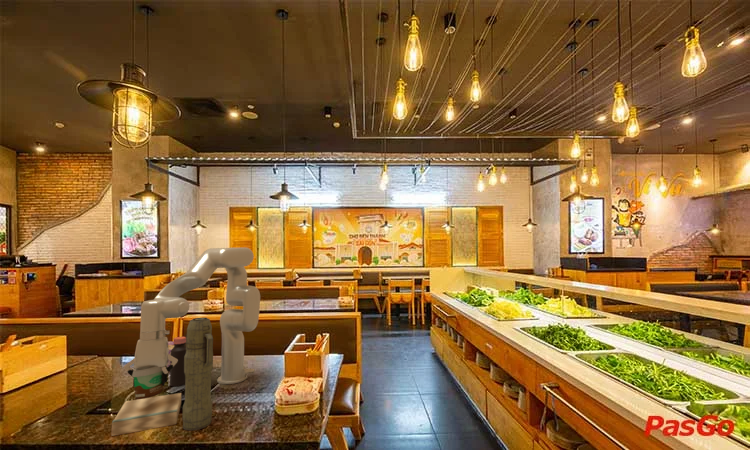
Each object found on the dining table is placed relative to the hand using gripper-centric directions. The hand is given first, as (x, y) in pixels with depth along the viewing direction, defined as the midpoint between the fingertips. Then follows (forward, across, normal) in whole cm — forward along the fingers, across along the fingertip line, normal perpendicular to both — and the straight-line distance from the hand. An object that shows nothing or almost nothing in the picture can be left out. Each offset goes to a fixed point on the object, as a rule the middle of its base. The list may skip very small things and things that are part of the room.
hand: (150, 386), depth 124 cm
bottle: (+11, -6, -33) cm, 35 cm away
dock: (+11, 0, 0) cm, 11 cm away
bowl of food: (+11, +4, -58) cm, 59 cm away
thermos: (+11, -16, +12) cm, 23 cm away
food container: (+3, -1, 0) cm, 3 cm away
